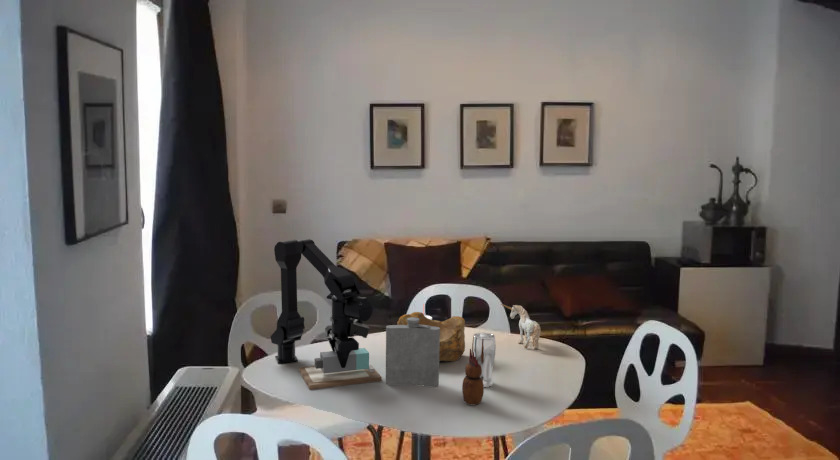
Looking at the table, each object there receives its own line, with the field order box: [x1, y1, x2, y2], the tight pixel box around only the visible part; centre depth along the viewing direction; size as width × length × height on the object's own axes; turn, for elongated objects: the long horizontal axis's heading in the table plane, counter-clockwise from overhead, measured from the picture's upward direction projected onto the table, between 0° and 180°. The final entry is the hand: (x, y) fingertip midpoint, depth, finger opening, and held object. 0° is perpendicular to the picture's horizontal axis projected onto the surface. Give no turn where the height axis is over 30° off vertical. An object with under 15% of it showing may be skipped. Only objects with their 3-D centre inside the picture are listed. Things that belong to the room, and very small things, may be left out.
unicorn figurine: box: [500, 303, 541, 350], centre depth 237 cm, size 7×20×13 cm, turn 34°
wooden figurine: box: [461, 348, 485, 406], centre depth 183 cm, size 7×6×15 cm
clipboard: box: [298, 362, 383, 390], centre depth 203 cm, size 16×22×2 cm
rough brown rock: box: [396, 311, 466, 362], centre depth 218 cm, size 23×17×15 cm
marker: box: [314, 347, 370, 374], centre depth 201 cm, size 5×16×5 cm, turn 111°
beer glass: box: [471, 332, 497, 388], centre depth 198 cm, size 7×7×15 cm
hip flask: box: [385, 317, 440, 387], centre depth 197 cm, size 16×4×20 cm, turn 86°
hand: (341, 364), depth 201 cm, fingers closed on marker, 5 cm apart
